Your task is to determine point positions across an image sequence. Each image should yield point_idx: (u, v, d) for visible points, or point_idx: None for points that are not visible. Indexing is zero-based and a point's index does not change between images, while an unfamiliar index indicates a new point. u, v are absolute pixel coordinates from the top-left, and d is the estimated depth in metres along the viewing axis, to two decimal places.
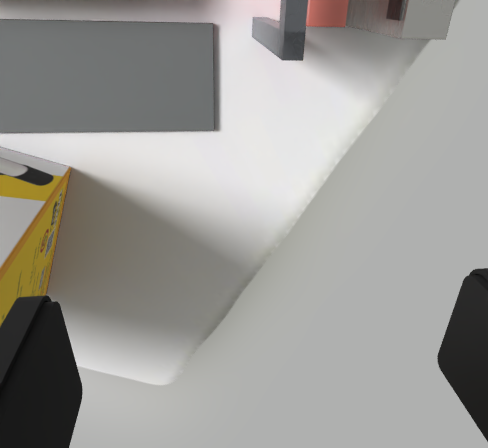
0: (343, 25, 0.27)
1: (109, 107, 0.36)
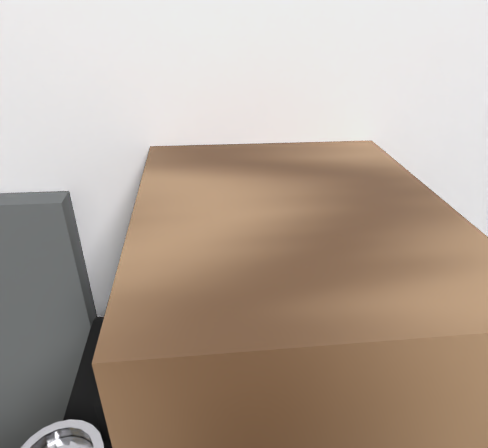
0: None
1: None
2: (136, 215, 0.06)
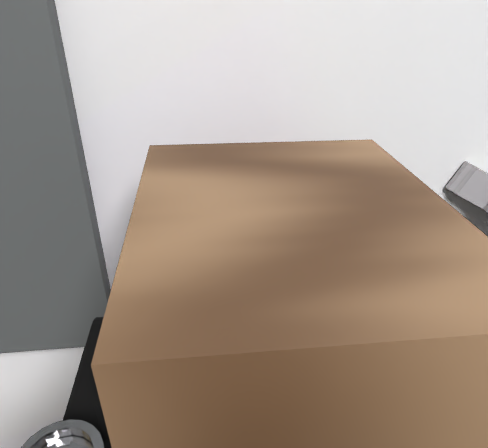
0: None
1: None
2: (135, 215, 0.06)
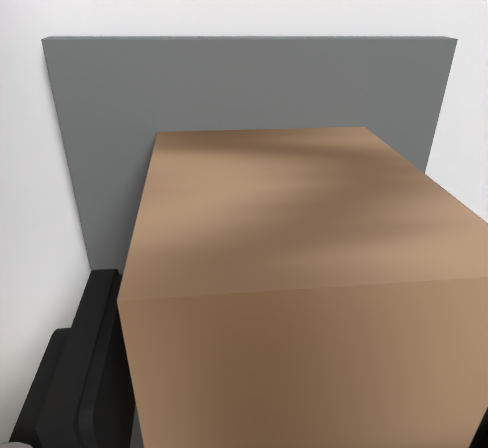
0: None
1: None
2: (147, 188, 0.07)
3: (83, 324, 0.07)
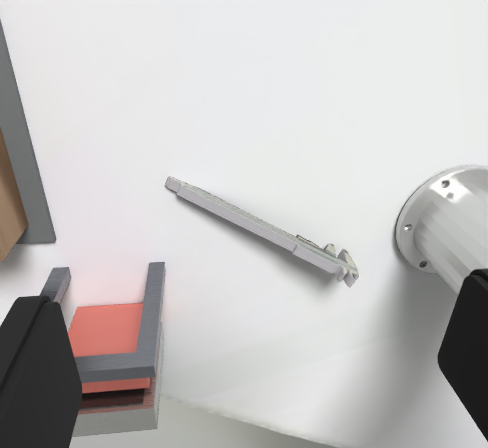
0: None
1: None
2: None
3: None
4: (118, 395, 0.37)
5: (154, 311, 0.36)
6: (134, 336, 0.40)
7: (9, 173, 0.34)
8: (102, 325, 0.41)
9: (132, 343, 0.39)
